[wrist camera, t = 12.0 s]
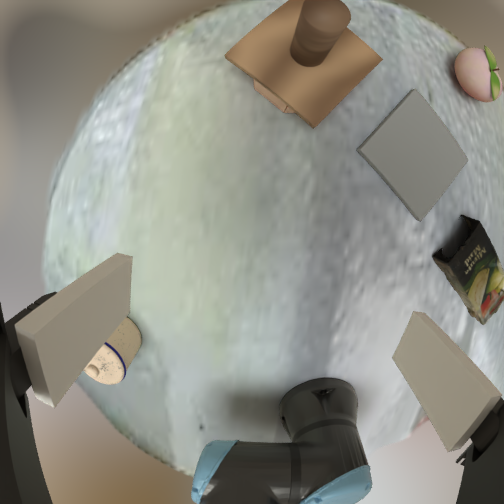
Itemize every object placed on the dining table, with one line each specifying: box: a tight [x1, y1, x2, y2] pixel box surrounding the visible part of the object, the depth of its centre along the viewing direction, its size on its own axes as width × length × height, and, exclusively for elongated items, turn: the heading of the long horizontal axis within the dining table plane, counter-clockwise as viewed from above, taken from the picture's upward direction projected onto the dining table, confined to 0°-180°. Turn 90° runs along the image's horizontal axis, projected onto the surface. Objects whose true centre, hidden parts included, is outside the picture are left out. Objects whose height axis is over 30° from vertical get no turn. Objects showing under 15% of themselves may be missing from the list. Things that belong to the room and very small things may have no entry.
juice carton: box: [433, 215, 504, 325], centre depth 37 cm, size 20×10×6 cm, turn 50°
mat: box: [357, 88, 468, 222], centre depth 34 cm, size 14×14×2 cm
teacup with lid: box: [84, 317, 142, 384], centre depth 40 cm, size 12×9×12 cm
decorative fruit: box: [455, 46, 502, 102], centre depth 25 cm, size 9×8×10 cm
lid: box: [225, 0, 383, 129], centre depth 21 cm, size 13×13×11 cm
